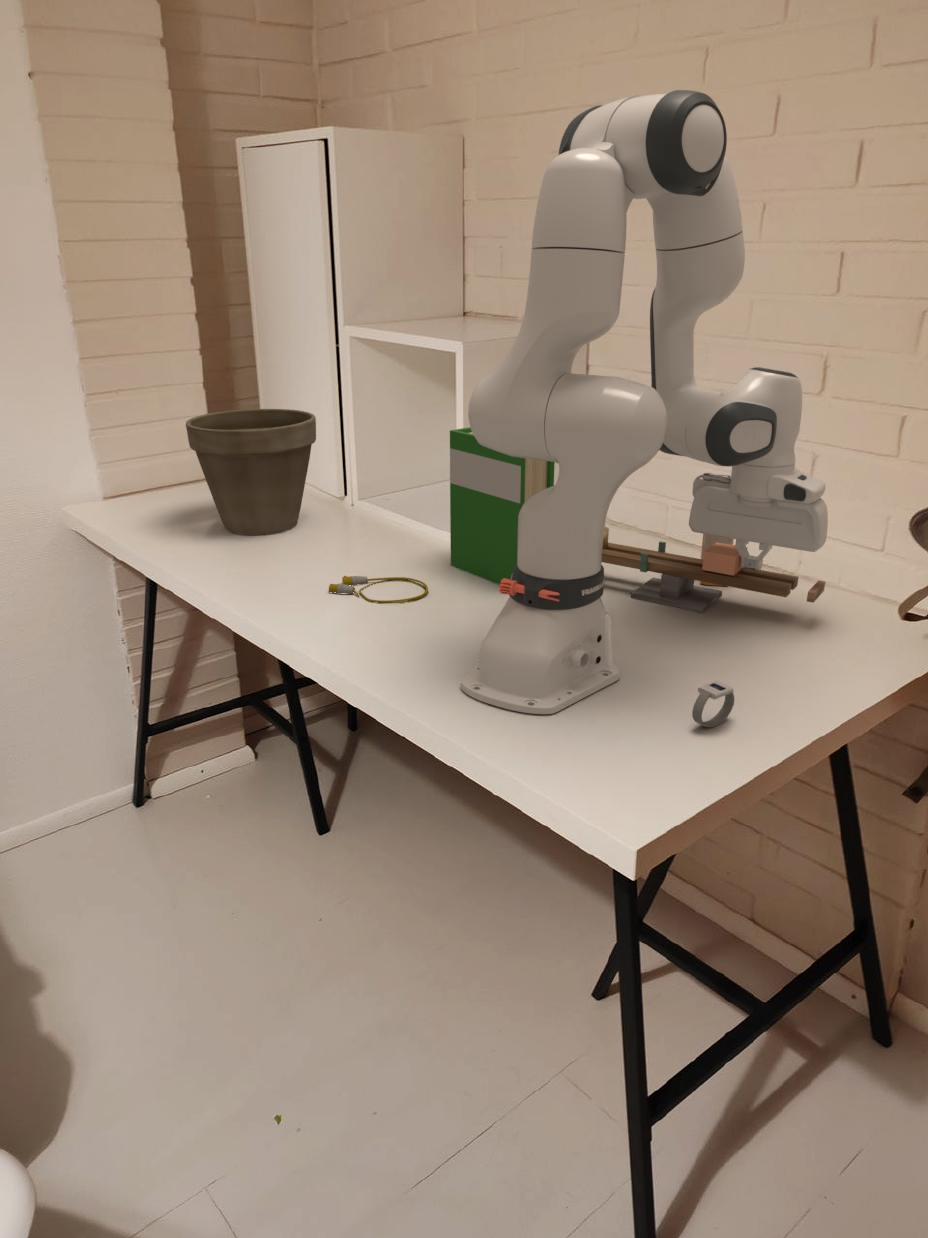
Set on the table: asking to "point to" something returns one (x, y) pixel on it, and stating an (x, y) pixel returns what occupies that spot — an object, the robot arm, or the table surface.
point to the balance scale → (693, 577)
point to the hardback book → (489, 504)
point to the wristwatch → (714, 692)
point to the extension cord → (361, 580)
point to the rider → (722, 559)
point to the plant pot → (254, 465)
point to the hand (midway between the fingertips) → (751, 568)
